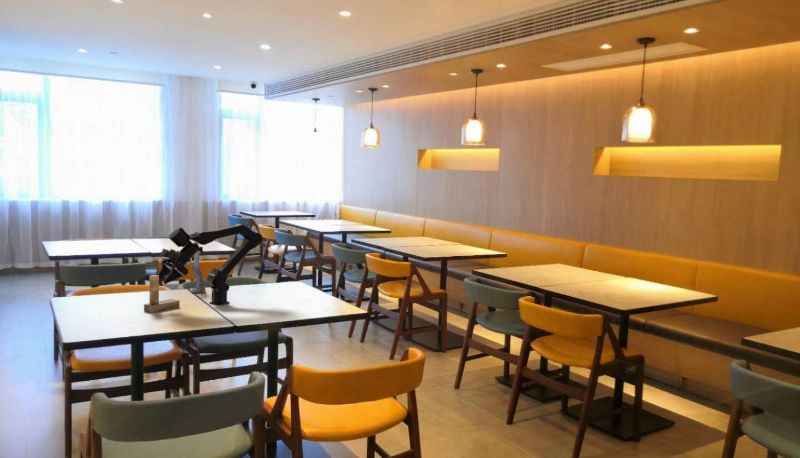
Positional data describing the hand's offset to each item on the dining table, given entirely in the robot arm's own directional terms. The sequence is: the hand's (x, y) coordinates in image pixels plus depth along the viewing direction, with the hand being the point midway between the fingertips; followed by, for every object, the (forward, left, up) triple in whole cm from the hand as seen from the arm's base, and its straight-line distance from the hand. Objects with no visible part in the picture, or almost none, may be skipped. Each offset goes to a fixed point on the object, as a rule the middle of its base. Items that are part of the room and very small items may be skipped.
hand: (160, 281), depth 245 cm
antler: (+19, -37, -13) cm, 43 cm away
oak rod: (+1, +2, -9) cm, 10 cm away
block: (+1, -2, -12) cm, 12 cm away
